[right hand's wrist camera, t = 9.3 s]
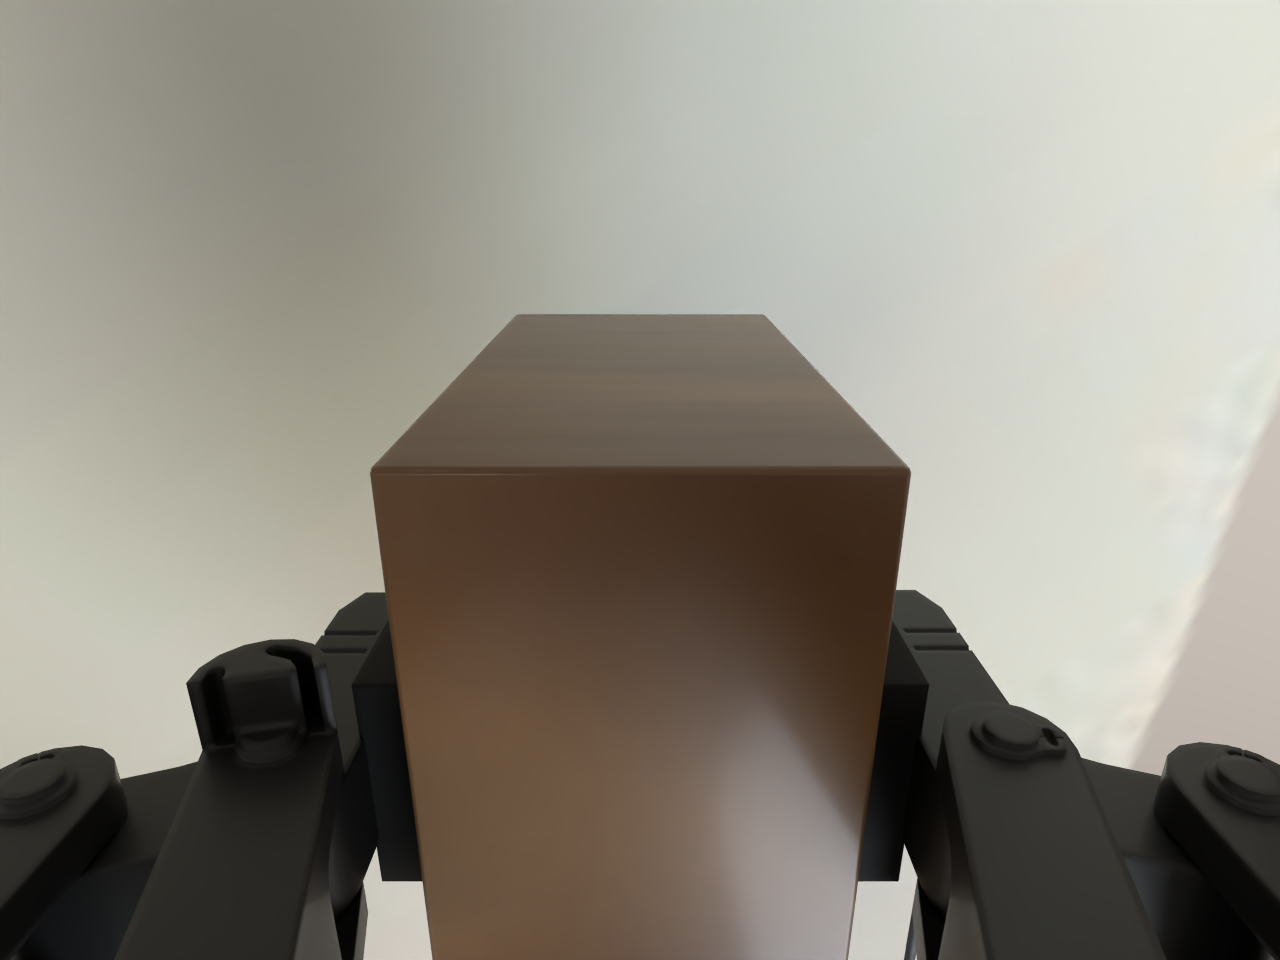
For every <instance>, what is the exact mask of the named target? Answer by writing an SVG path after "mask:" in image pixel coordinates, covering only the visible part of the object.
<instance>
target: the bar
mask: <svg viewBox="0 0 1280 960" xmlns="http://www.w3.org/2000/svg"><path fill="white" fill-rule="evenodd" d="M370 476H371V484H372V492H373V499H374V507H375V515H376V523H377V531H378V538H379V546H380V554H381V562H382V570H383V577H384V585H385V593H386V601H387V608H388V616H389V624H390V632H391V640H392V647H393V655H394V663H395V671H396V678H397V686H398V694H399V702H400V710H401V717H402V725H403V733H404V741H405V748H406V756H407V764H408V772H409V780H410V787H411V795H412V803H413V811H414V819H415V826H416V834H417V842H418V850H419V857H420V865H421V873H422V881H423V889H424V896H425V904H426V912H427V920H428V927H429V935H430V943H431V951H432V959H433V960H848V954H849V946H850V938H851V931H852V923H853V915H854V908H855V900H856V892H857V885H858V877H859V869H860V862H861V854H862V846H863V838H864V831H865V823H866V815H867V808H868V800H869V792H870V785H871V777H872V769H873V762H874V754H875V746H876V739H877V731H878V723H879V716H880V708H881V700H882V693H883V685H884V677H885V669H886V662H887V654H888V646H889V639H890V631H891V623H892V616H893V608H894V600H895V593H896V585H897V577H898V570H899V562H900V554H901V547H902V539H903V531H904V523H905V516H906V508H907V500H908V493H909V485H910V477H911V472H910V468H909V467H908V466H907V465H906V464H905V463H904V462H903V461H902V460H901V459H900V458H899V457H898V455H897V454H896V453H895V452H894V451H893V450H892V449H891V448H890V447H889V446H888V445H887V444H886V443H885V442H884V441H883V440H882V439H881V438H880V436H879V435H878V434H877V433H876V432H875V431H874V430H873V429H872V428H871V427H870V426H869V425H868V424H867V423H866V422H865V421H864V420H863V419H862V417H861V416H860V415H859V414H858V413H857V412H856V411H855V410H854V409H853V408H852V407H851V406H850V405H849V404H848V403H847V402H846V401H845V400H844V398H843V397H842V396H841V395H840V394H839V393H838V392H837V391H836V390H835V389H834V388H833V387H832V386H831V385H830V384H829V383H828V382H827V381H826V379H825V378H824V377H823V376H822V375H821V374H820V373H819V372H818V371H817V370H816V369H815V368H814V367H813V366H812V365H811V364H810V363H809V362H808V360H807V359H806V358H805V357H804V356H803V355H802V354H801V353H800V352H799V351H798V350H797V349H796V348H795V347H794V346H793V345H792V344H791V343H790V341H789V340H788V339H787V338H786V337H785V336H784V335H783V334H782V333H781V332H780V331H779V330H778V329H777V328H776V327H775V326H774V325H773V324H772V322H771V321H770V320H769V319H768V318H767V317H766V316H765V315H629V314H518V315H516V316H515V317H514V318H513V319H512V320H511V321H510V322H509V323H508V324H507V325H506V326H505V328H504V329H503V330H502V331H501V332H500V333H499V334H498V335H497V336H496V337H495V338H494V339H493V340H492V341H491V342H490V343H489V344H488V345H487V347H486V348H485V349H484V350H483V351H482V352H481V353H480V354H479V355H478V356H477V357H476V358H475V359H474V360H473V361H472V362H471V363H470V364H469V366H468V367H467V368H466V369H465V370H464V371H463V372H462V373H461V374H460V375H459V376H458V377H457V378H456V379H455V380H454V381H453V382H452V383H451V385H450V386H449V387H448V388H447V389H446V390H445V391H444V392H443V393H442V394H441V395H440V396H439V397H438V398H437V399H436V400H435V401H434V402H433V404H432V405H431V406H430V407H429V408H428V409H427V410H426V411H425V412H424V413H423V414H422V415H421V416H420V417H419V418H418V419H417V420H416V421H415V423H414V424H413V425H412V426H411V427H410V428H409V429H408V430H407V431H406V432H405V433H404V434H403V435H402V436H401V437H400V438H399V439H398V441H397V442H396V443H395V444H394V445H393V446H392V447H391V448H390V449H389V450H388V451H387V452H386V453H385V454H384V455H383V456H382V457H381V458H380V460H379V461H378V462H377V463H376V464H375V465H374V466H373V467H372V468H371V472H370Z"/></svg>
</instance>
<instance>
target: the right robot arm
mask: <svg viewBox="0 0 1280 960" xmlns="http://www.w3.org/2000/svg"><path fill="white" fill-rule="evenodd" d="M186 684H187V689H188V693H189V697H190V701H191V705H192V709H193V713H194V717H195V721H196V725H197V729H198V733H199V737H200V741H201V745H202V749H203V751H202V753H201V756H200V758H199V760H198V762H194V763H191V764H187V765H184V766H180V767H176V768H171V769H167V770H162V771H157V772H152V773H148V774H143V775H138V776H134V777H129V778H124V779H120V777H119V773H118V770H117V766H116V763H115V760H114V758H113V757H112V756H110V755H109V754H108V753H107V752H106V751H104V750H103V749H100V748H94V747H87V746H73V747H64V748H55V749H51V750H47V751H43V752H41V753H38V754H37V753H36V754H33V755H30V756H27V757H24V758H22V759H20V760H18V761H16V762H14V763H12V764H10V765H8V766H6V767H4V768H2V769H0V960H363V955H364V946H365V936H366V926H367V917H368V910H367V903H366V896H365V890H364V884H363V880H364V877H365V875H366V872H367V869H368V867H369V864H370V862H371V859H372V857H373V854H374V852H375V849H376V847H377V851H378V858H379V864H380V871H381V877H382V881H422V873H421V865H420V857H419V850H418V842H417V834H416V826H415V819H414V811H413V803H412V795H411V787H410V780H409V772H408V764H407V756H406V748H405V741H404V733H403V725H402V717H401V710H400V702H399V694H398V686H397V678H396V671H395V663H394V655H393V647H392V640H391V632H390V624H389V616H388V608H387V601H386V593H364V594H363V595H361V596H360V597H358V598H357V599H355V600H354V601H352V602H351V603H349V604H348V605H346V606H345V607H344V608H342V609H341V610H339V611H338V613H337V614H336V616H335V617H334V619H333V620H332V621H331V623H330V624H329V626H328V627H327V629H326V630H325V634H324V636H321V637H320V639H319V640H318V642H317V643H316V644H315V645H314V644H312V643H307V642H303V641H299V640H295V639H283V640H267V641H262V642H257V643H252V644H247V645H244V646H241V647H238V648H236V649H233V650H231V651H228V652H226V653H223V654H221V655H219V656H217V657H216V658H214V659H212V660H211V661H209V662H208V663H206V664H205V665H203V666H202V667H200V668H199V669H198V670H197V671H196V672H195V673H194V675H193V676H192V677H191V678H190V679H189V681H188V682H187V683H186ZM904 844H905V846H906V849H907V851H908V854H909V857H910V859H911V862H912V864H913V867H914V869H915V872H916V874H917V877H918V878H917V884H916V890H915V896H914V902H913V908H912V914H911V920H910V926H909V932H908V938H907V944H906V950H905V957H904V960H915V956H916V953H917V960H1280V765H1279V764H1277V763H1275V762H1273V761H1271V760H1268V759H1266V758H1264V757H1263V756H1261V755H1259V754H1256V753H1253V752H1250V751H1247V750H1241V748H1236V747H1231V746H1228V745H1220V744H1211V743H1202V742H1198V743H1192V744H1186V745H1180V746H1178V747H1177V748H1176V749H1175V750H1173V751H1172V752H1171V753H1170V754H1168V755H1167V759H1166V762H1165V766H1164V769H1163V772H1162V776H1158V775H1153V774H1149V773H1144V772H1139V771H1135V770H1130V769H1125V768H1120V767H1116V766H1111V765H1106V764H1102V763H1098V762H1095V761H1091V760H1088V759H1084V758H1081V756H1080V754H1079V752H1078V749H1077V748H1076V747H1075V745H1074V744H1073V742H1072V741H1071V740H1070V738H1069V737H1068V736H1067V734H1066V733H1065V732H1064V731H1062V730H1061V729H1060V728H1058V727H1057V726H1056V725H1054V724H1053V723H1052V722H1050V721H1049V720H1048V719H1046V718H1044V717H1042V716H1040V715H1037V714H1035V713H1033V712H1031V711H1029V710H1026V709H1024V708H1022V707H1017V706H1013V705H1010V704H1009V703H1008V702H1007V700H1006V699H1005V697H1004V696H1003V694H1002V693H1001V692H1000V690H999V689H998V687H997V686H996V684H995V683H994V682H993V680H992V679H991V677H990V676H989V674H988V673H987V672H986V670H985V669H984V667H983V666H982V664H981V663H980V662H979V660H978V659H977V657H976V656H975V654H974V653H973V652H972V651H969V646H968V644H967V643H966V642H965V640H964V639H963V637H962V636H961V634H960V633H957V631H956V627H955V626H954V625H953V623H952V622H951V620H950V619H949V617H948V616H947V615H946V613H945V612H944V610H943V609H942V608H941V607H940V606H938V605H937V604H935V603H934V602H932V601H931V600H929V599H928V598H926V597H925V596H923V595H922V594H920V593H919V592H917V591H916V590H896V593H895V600H894V608H893V616H892V623H891V631H890V639H889V646H888V654H887V662H886V669H885V677H884V685H883V693H882V700H881V708H880V716H879V723H878V731H877V739H876V746H875V754H874V762H873V769H872V777H871V785H870V792H869V800H868V808H867V815H866V823H865V831H864V838H863V846H862V854H861V862H860V869H859V877H858V881H898V880H899V874H900V868H901V861H902V855H903V849H904Z"/></svg>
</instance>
